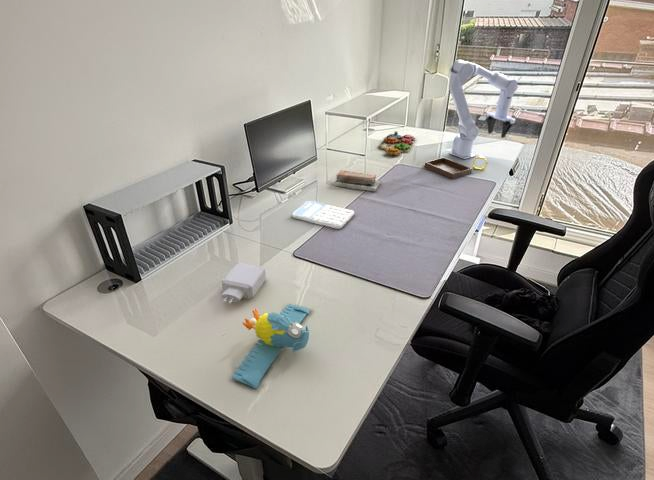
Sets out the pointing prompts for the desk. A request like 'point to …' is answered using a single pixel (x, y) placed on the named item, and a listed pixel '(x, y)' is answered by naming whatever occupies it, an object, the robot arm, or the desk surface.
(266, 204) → the desk surface
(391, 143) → the gear puzzle
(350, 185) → the packaged product
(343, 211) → the calculator
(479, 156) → the watch
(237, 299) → the charger
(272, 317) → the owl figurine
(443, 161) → the tray
